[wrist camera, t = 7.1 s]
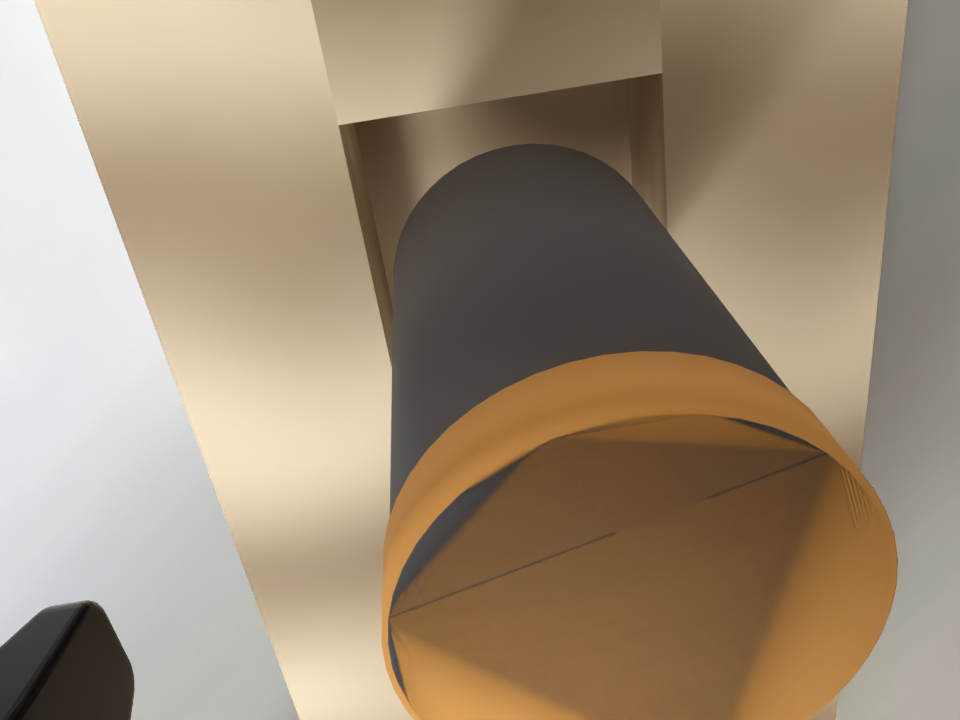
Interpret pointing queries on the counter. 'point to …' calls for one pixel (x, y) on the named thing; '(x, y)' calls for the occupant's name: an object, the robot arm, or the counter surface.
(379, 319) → the wooden socket board
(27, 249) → the counter surface
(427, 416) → the capped plug
